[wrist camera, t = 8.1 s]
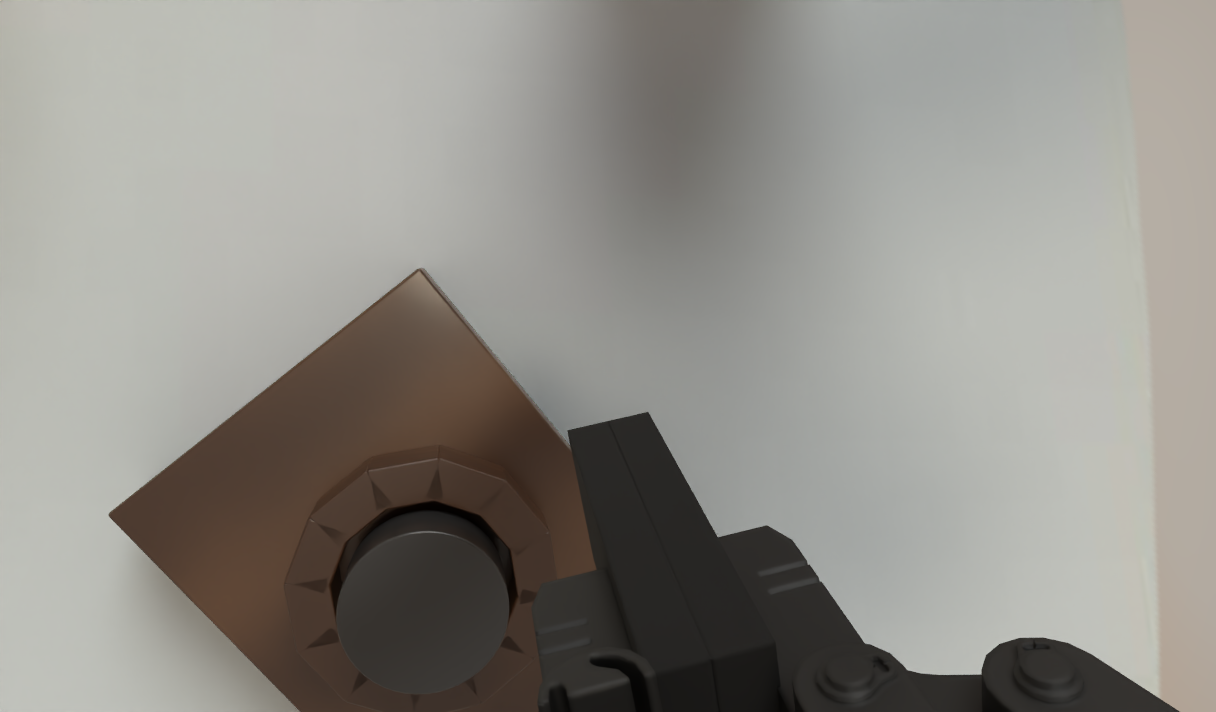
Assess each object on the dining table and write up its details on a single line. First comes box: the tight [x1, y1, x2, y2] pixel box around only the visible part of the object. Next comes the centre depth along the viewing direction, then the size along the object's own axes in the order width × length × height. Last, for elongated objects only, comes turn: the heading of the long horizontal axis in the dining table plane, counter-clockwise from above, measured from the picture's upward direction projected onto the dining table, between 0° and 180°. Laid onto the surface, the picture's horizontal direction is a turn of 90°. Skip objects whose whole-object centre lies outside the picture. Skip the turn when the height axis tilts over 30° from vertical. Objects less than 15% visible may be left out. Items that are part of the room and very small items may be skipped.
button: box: [336, 510, 509, 694], centre depth 24 cm, size 4×4×2 cm
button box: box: [109, 268, 597, 712], centre depth 27 cm, size 14×11×5 cm
